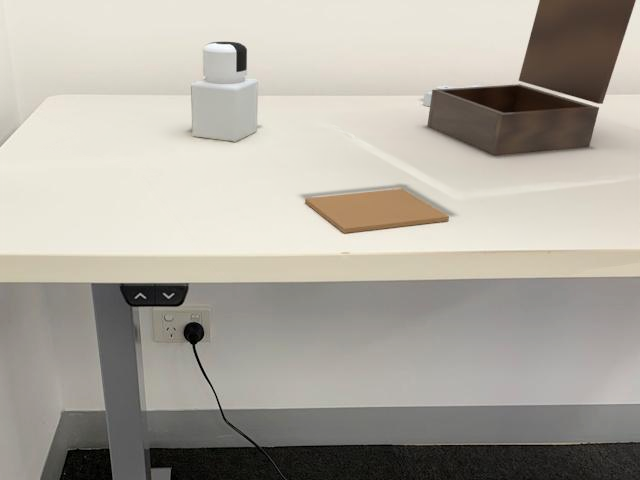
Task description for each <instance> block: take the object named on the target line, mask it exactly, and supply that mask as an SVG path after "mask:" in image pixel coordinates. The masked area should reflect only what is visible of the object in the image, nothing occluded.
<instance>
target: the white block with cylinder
mask: <svg viewBox="0 0 640 480" xmlns="http://www.w3.org/2000/svg"><path fill="white" fill-rule="evenodd" d="M247 71H248V49H247V47H246V45H244V44H242V43H240V42H235V41H213V42H209V43H207V44H205V45H204V46H203V48H202V75H203V76H204V77H205V78H204V79H201V80H198V81H195V82H192V83H191V85H190V96H191V97H190V98H191V99H190V100H191V101H190V102H191V103H190V104H191V134H192V136H193V137H197V138H204V139H212V140H217V141H218V140H220V141H227V142H234V143H236V142H238V141H241V140H242V139H244V138H246V137H248V136H251V135H252V134H254V133H256V132H257V131H258V107H259V104H258V103H259V81H258V79H254V78H245V77H246V76H247V75H248V73H247Z"/></svg>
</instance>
